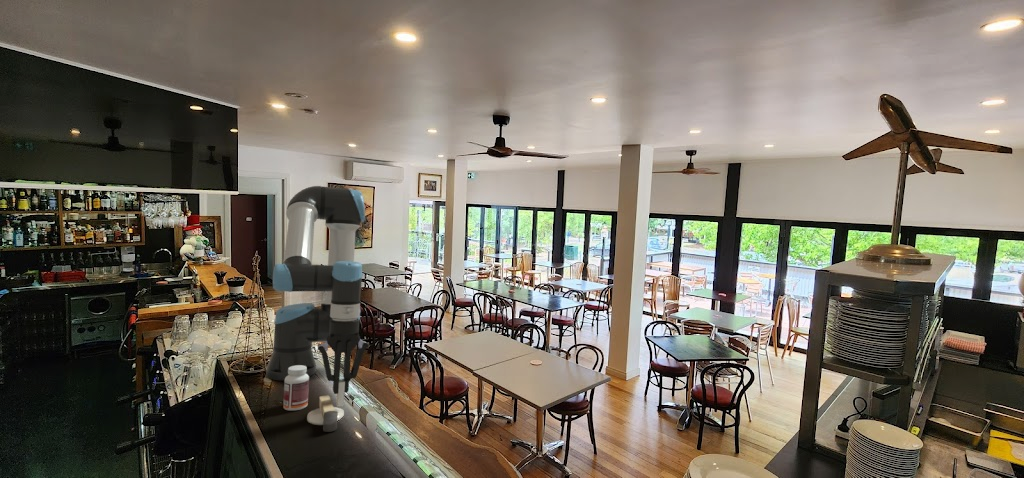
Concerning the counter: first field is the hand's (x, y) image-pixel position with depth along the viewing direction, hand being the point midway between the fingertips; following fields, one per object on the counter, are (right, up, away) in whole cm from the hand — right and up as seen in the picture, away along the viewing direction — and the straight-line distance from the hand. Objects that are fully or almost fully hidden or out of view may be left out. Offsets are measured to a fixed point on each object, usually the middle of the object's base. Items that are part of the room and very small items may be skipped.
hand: (339, 404), depth 117 cm
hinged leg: (-2, -2, -5) cm, 5 cm away
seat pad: (-3, -2, -3) cm, 5 cm away
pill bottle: (-13, -2, +3) cm, 14 cm away
